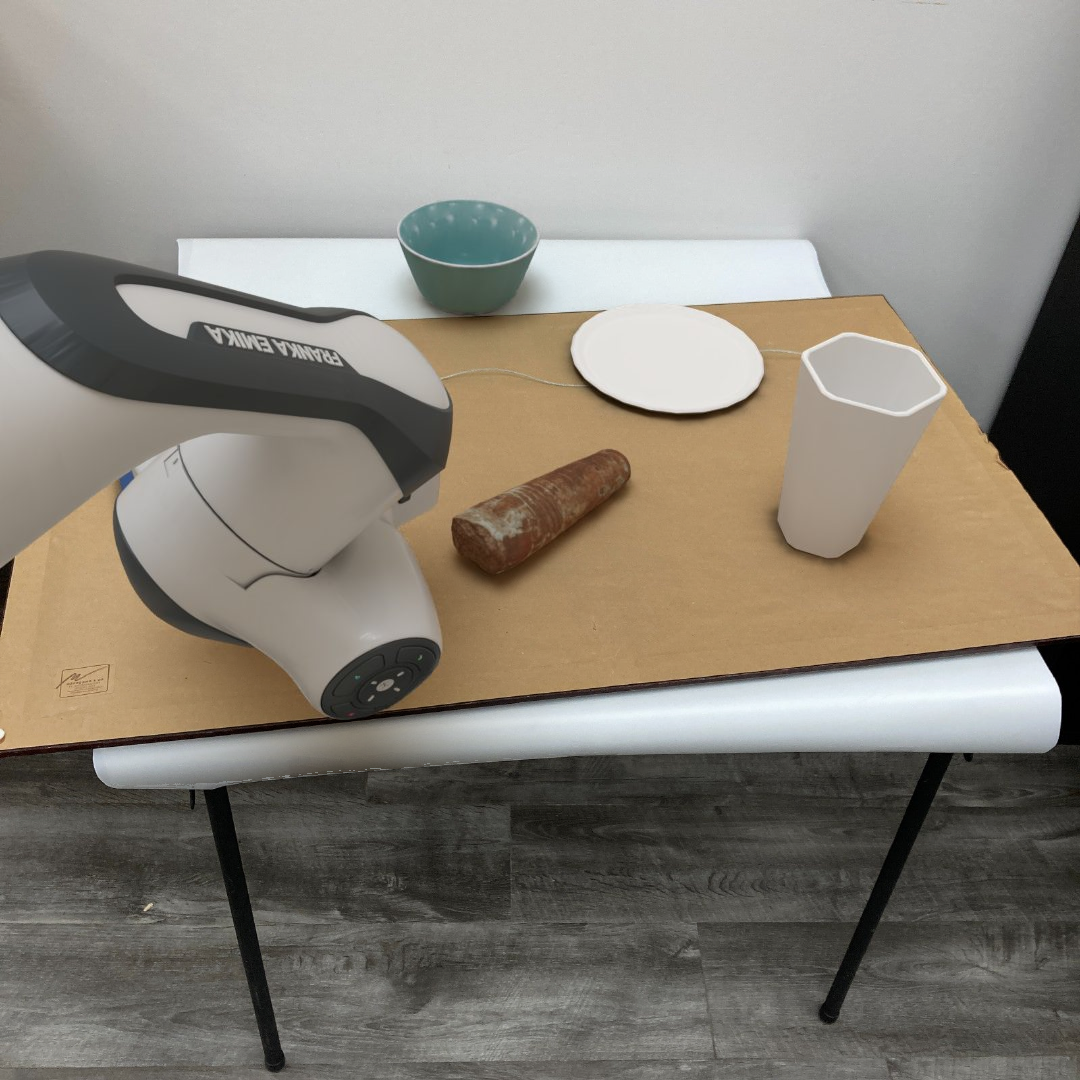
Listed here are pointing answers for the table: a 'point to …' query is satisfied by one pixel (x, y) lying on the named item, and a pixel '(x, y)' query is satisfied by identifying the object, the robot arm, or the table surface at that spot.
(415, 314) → the table surface
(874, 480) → the cup
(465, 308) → the bowl
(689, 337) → the plate
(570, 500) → the brown rounded cylinder
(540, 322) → the table surface
